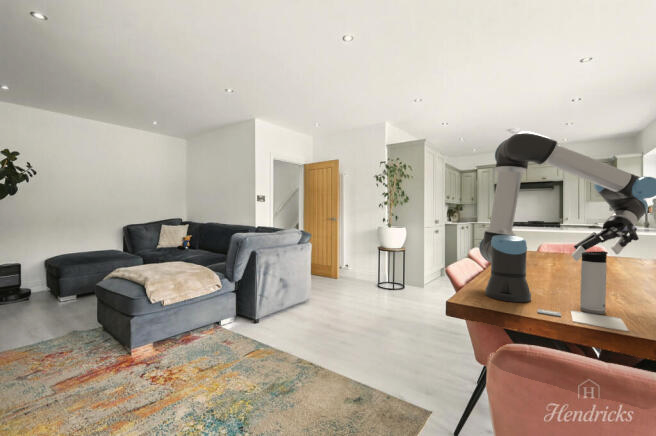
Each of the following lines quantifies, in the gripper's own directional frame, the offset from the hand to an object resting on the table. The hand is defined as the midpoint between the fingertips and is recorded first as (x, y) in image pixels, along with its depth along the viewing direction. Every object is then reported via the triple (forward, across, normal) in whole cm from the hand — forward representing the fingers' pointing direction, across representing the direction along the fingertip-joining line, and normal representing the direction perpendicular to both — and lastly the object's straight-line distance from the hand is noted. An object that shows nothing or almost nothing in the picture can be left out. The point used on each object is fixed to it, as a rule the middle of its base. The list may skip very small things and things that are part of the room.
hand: (593, 254), depth 107 cm
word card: (+30, +2, -2) cm, 30 cm away
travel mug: (+17, 0, -12) cm, 20 cm away
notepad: (+25, -6, -9) cm, 27 cm away
